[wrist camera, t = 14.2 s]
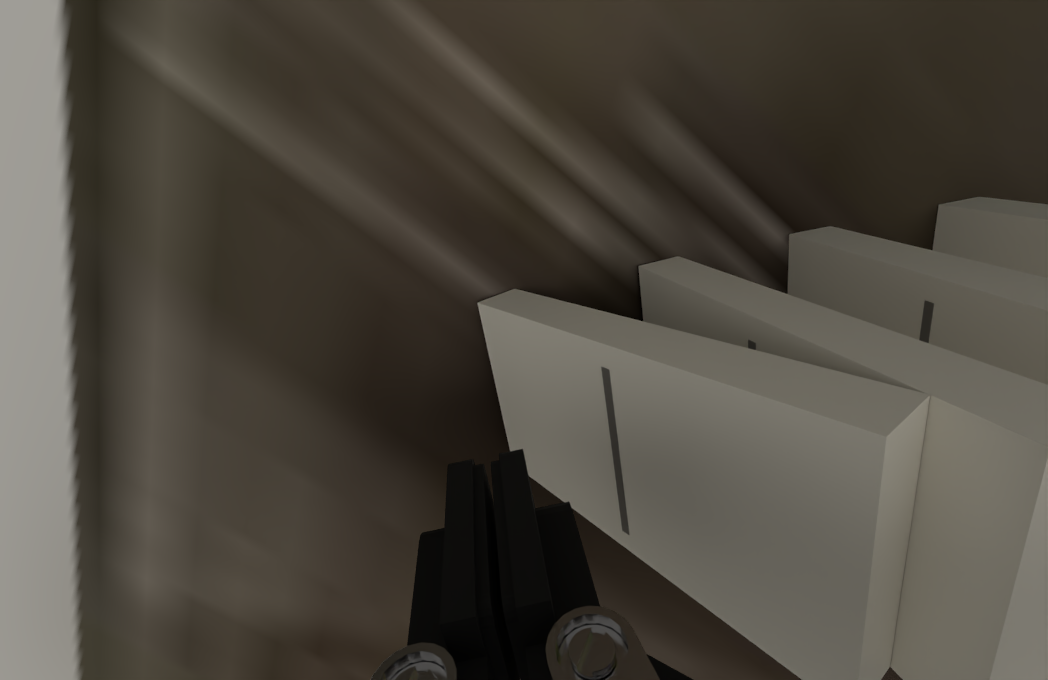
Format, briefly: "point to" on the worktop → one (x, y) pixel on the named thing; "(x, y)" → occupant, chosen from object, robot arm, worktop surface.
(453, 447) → the worktop surface
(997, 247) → the domino
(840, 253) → the domino
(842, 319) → the domino
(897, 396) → the domino
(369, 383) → the worktop surface
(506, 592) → the robot arm
